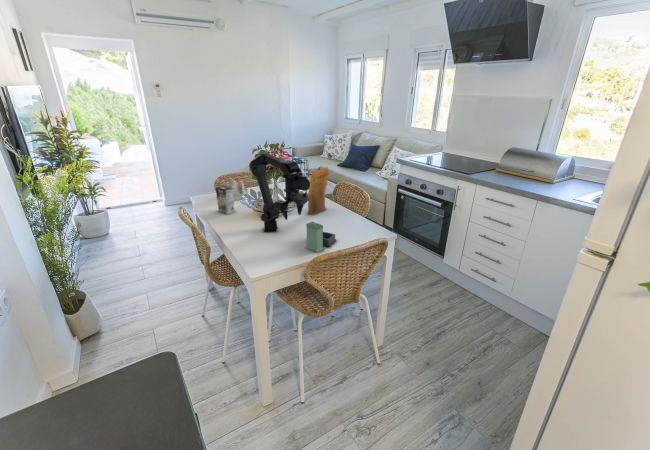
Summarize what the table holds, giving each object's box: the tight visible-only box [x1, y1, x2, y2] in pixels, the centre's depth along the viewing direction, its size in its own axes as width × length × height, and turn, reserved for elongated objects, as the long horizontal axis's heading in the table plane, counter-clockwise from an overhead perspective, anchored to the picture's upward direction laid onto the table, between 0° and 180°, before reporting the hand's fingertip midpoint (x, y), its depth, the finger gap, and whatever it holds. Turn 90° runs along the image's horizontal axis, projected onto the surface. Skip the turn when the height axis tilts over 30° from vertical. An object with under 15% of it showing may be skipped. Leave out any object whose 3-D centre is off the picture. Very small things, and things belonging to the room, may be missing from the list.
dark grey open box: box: [323, 231, 337, 248], centre depth 162 cm, size 12×8×4 cm
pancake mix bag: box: [307, 166, 329, 215], centre depth 197 cm, size 7×19×28 cm, turn 139°
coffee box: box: [215, 184, 236, 215], centre depth 198 cm, size 9×6×16 cm
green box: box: [305, 221, 324, 253], centre depth 153 cm, size 7×4×13 cm, turn 49°
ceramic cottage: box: [225, 178, 249, 201], centre depth 226 cm, size 16×16×15 cm
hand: (293, 217), depth 160 cm, fingers open, 9 cm apart
